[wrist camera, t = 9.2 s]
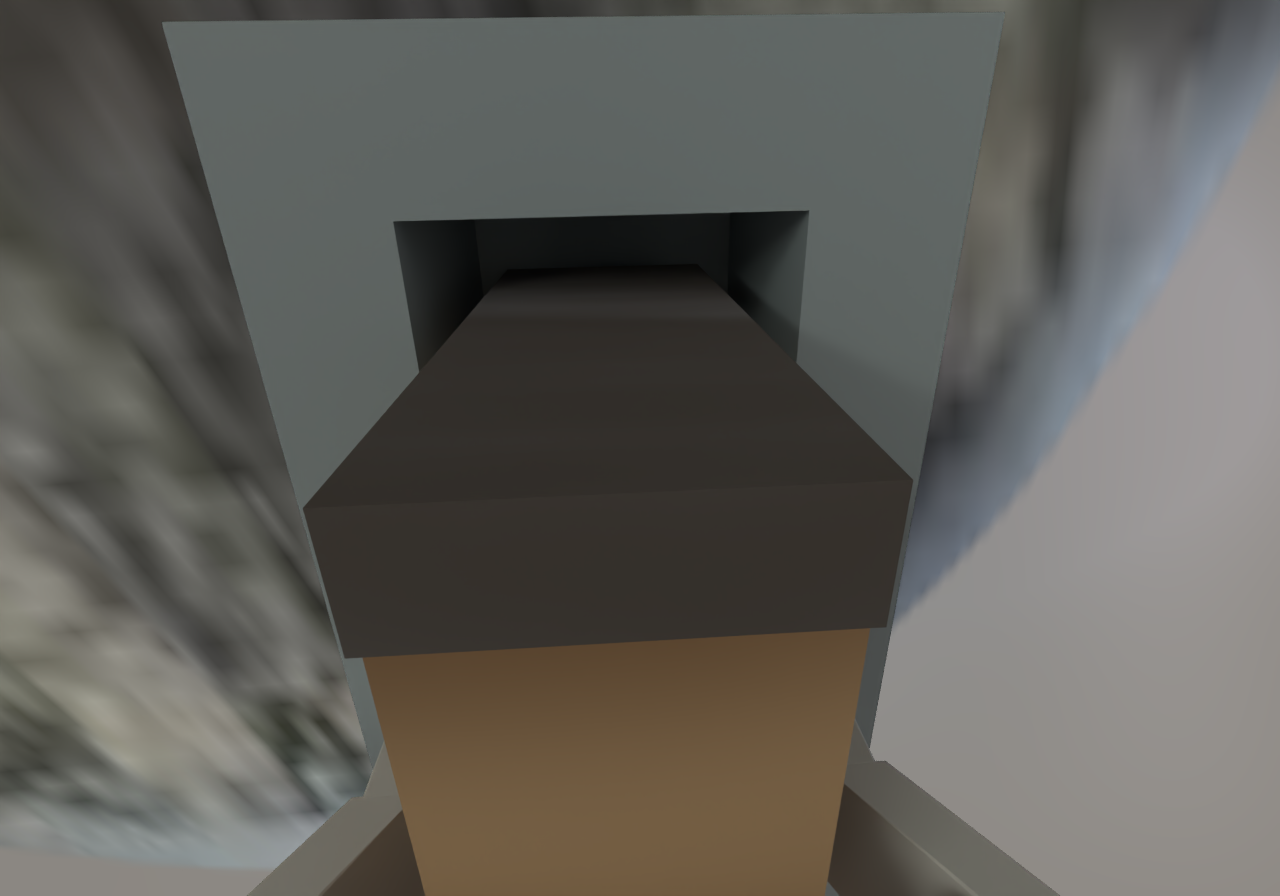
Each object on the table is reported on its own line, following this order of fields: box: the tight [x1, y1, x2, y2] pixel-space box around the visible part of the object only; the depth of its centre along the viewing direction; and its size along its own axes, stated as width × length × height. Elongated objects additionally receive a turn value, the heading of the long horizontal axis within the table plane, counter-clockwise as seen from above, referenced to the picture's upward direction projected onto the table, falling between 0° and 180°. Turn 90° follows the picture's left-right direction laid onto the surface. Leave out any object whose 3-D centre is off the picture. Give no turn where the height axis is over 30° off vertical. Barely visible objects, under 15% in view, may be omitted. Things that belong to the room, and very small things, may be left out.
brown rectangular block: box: [303, 264, 913, 896], centre depth 9 cm, size 12×3×8 cm, turn 1°
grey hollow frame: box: [162, 12, 1005, 896], centre depth 16 cm, size 9×18×12 cm, turn 1°
